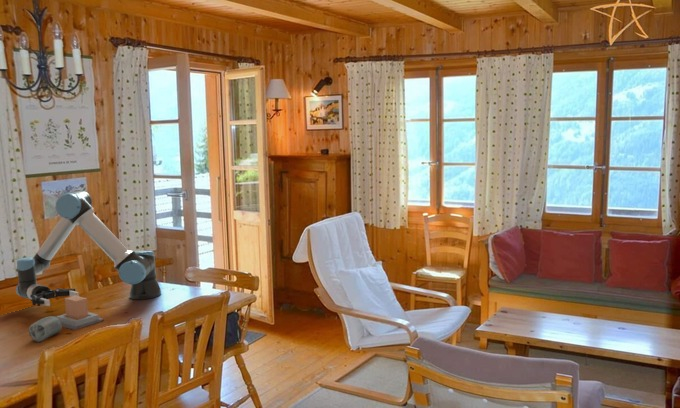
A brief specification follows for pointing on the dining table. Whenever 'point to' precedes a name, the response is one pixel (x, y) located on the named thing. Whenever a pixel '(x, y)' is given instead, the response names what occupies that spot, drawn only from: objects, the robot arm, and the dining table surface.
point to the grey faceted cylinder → (45, 328)
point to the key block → (76, 307)
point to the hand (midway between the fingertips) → (63, 299)
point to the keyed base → (79, 321)
